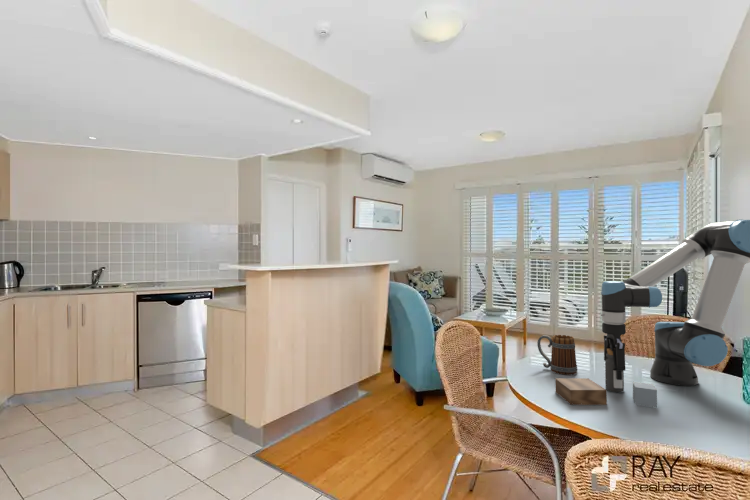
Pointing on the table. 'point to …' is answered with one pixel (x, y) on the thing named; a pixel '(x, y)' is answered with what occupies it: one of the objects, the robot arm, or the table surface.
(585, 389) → the walnut block
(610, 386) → the bottle
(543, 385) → the table surface
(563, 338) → the mug
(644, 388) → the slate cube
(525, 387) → the table surface
